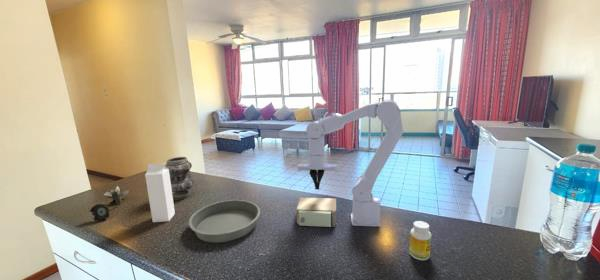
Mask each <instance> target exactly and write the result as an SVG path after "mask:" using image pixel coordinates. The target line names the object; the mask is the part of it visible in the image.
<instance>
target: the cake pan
mask: <svg viewBox="0 0 600 280" xmlns="http://www.w3.org/2000/svg"><path fill="white" fill-rule="evenodd" d="M260 214H261V209H260V207H259V206H258V205H257V204H256V203H254V202H251V201H248V200H244V199H228V200H221V201H217V202H213V203H211V204H208V205H206V206H203V207H202V208H200V209H198V210H197V211H195V212H194V213H193V214H192V215H191V216H190V218H189V220H188V227H189V228H190V229H191V231H193V232H194V234H195V235H196V237H197V238H198V239H199V240H201V241H203V242H207V243H224V242H230V241H233V240H236V239H239V238H243V236H245V235H247V234H249V233H250V232H251V231H252V230H253V229H254V228H255V227H256V224H257V221H258V218H259V217H260Z"/></svg>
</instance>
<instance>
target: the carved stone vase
mask: <svg viewBox="0 0 600 280" xmlns="http://www.w3.org/2000/svg"><path fill="white" fill-rule="evenodd" d="M165 167H166V168H167V169H169V175H170V182H171V189H172V196H173V201H174V200H176V201H177V200H183V199H187V198H190V197H191V196H192V195H193V194H194V191H193V190H191V188H192V187H193V186H194V185H195V179H193V178H192V177H191V172H190V171H191V168H192V163H191V162H190V161H188V157H186V156H177V157H171V158H169V159H167V160H166V164H165Z"/></svg>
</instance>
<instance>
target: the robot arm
mask: <svg viewBox="0 0 600 280" xmlns="http://www.w3.org/2000/svg"><path fill="white" fill-rule="evenodd" d="M366 117H368V118H372V119H376V118H378V120H380V122H381V123H382V124H383V126H384V129H385V135H384V136H383V138H382V140H381V142H380V144H378V145H379V146H378V148H377V149H376V150H375V152H374V154H373V156H372V158H371V160H370V162H369V163H368V165H367V167H366V169H365V170H364V172H363V173H362V175H360V176H359V177H357V178H356V181H355V184H354V186H353V188H352V190H351V194H352V195H351V196H352V213H350V219H351V220H350V221H351V225H352V226H356V227H378V228H380V226H381V225H380V222H381V220H380V219H381V203H380V199H379V197H375V196H374V195H373V193H372V190H373V188H374V185H375V183H376V181H377V179H378V177H379V175H380V174H381V172H382V170H383V168H384V167H385V165H386V164H387V161H388V160H389V158H390V156H391V154H392V153H393V152H394V150H395V148H396V146H397V144H398V142H399V141H400V139H401V138H402V135H403V134H404V129H403V121H402V113H401V110H400V107H399V106H398V103H397V102H396V101H395V100H392V99H385V100H383V101H378V102H373V103H369V104H366V105H364V106H362V107H358V108H357V109H354V110H351V111H349V112H347V113H344V114H341V113H338V112H336V113H335V112H331V113H329V115H328V116H326V117H323V118H321V117H319V118H318V119H317V120H316V121H312V122H311V123H309V124H308V125H307V127H306V129H305V131H306V132H305V133H306V135H307V136H308V163H301V164H300V163H299V164H297V166H296V167H297V171H298V172H299V171H309V176H310V177H311V179H312V181H313V185H314V187H315V190H320V184H321V182H322V181H321V180H322V179H323V176H324V174H325V171H327V172H328V171H334V172H337V165H338V164H332V163H331V164H330V163H326V162H325V154H326V153H325V135H328V134H331V133H334V132H337V131H340V130H343V128H344V127H345V125H346V124H348V123H351V122H355V121H357V120H359V119H363V118H366Z"/></svg>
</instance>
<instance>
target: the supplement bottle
mask: <svg viewBox="0 0 600 280" xmlns="http://www.w3.org/2000/svg"><path fill="white" fill-rule="evenodd" d="M409 233H410V234H409V246H408V247H409V254H410V256H411V257H412V258H414V259H416V260H419V261H427V260H429V259H430V257H431V247H432V244H431V243H432V233H431V232H430V225H429V223H427V222H426V221H423V220H416V221H413V226H412V228H411V230H410V232H409Z"/></svg>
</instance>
